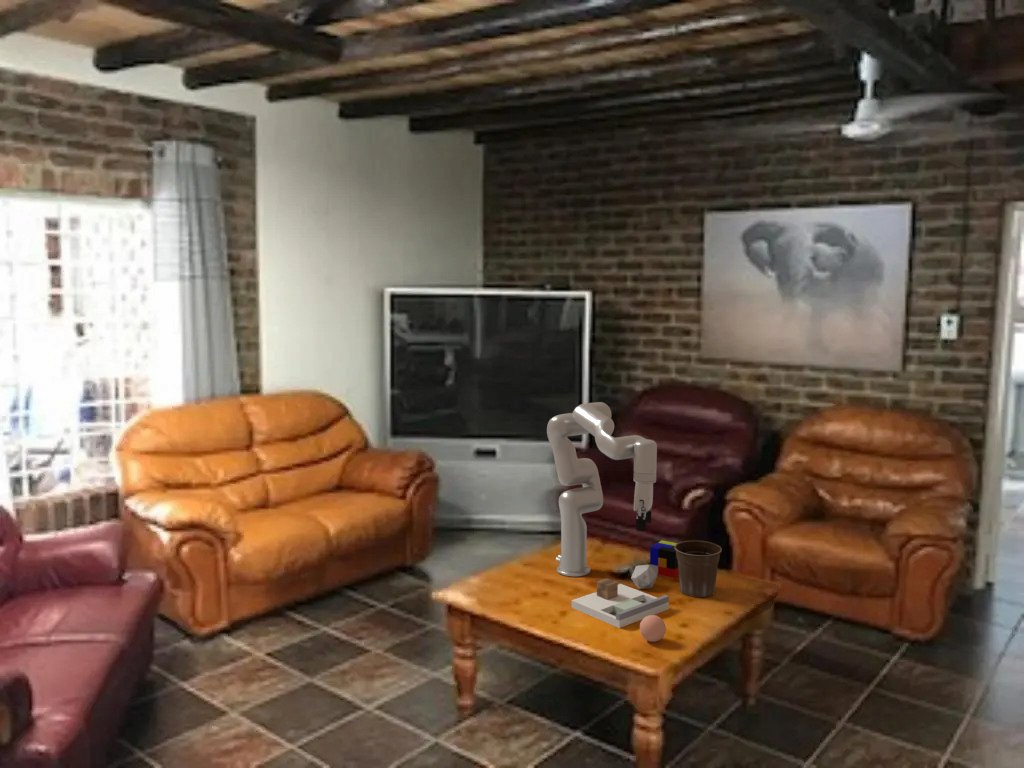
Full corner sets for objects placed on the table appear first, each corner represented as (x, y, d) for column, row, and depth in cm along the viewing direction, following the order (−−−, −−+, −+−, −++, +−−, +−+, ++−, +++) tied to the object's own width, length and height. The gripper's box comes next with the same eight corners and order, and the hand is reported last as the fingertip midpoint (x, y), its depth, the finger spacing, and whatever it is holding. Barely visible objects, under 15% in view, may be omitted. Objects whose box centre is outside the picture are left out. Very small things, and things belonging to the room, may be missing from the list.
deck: (571, 607, 288) (571, 594, 287) (620, 590, 303) (620, 578, 302) (619, 628, 271) (619, 614, 270) (668, 609, 286) (668, 596, 285)
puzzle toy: (649, 572, 321) (650, 547, 320) (661, 565, 329) (661, 540, 328) (674, 578, 315) (675, 552, 314) (685, 570, 323) (686, 545, 322)
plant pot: (691, 603, 291) (692, 557, 289) (664, 587, 306) (665, 543, 304) (730, 595, 298) (731, 551, 296) (701, 580, 312) (702, 538, 310)
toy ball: (661, 634, 266) (661, 610, 265) (669, 645, 258) (669, 620, 257) (636, 636, 265) (636, 612, 264) (643, 647, 257) (644, 622, 256)
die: (626, 588, 307) (633, 573, 300) (633, 570, 313) (640, 555, 306) (647, 598, 305) (654, 583, 299) (654, 580, 311) (661, 565, 305)
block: (596, 595, 291) (596, 581, 291) (606, 592, 295) (607, 578, 294) (607, 599, 288) (607, 585, 287) (617, 596, 291) (617, 582, 290)
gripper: (638, 470, 294) (637, 518, 297) (628, 481, 278) (627, 532, 281) (660, 471, 292) (659, 520, 294) (651, 483, 276) (650, 534, 278)
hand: (643, 526), depth 287 cm, fingers open, 9 cm apart
